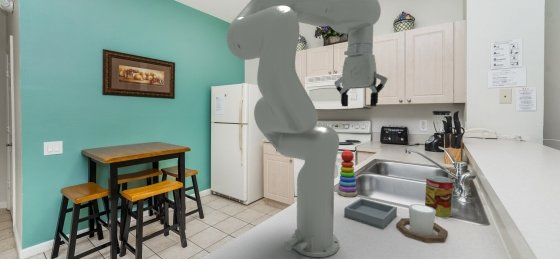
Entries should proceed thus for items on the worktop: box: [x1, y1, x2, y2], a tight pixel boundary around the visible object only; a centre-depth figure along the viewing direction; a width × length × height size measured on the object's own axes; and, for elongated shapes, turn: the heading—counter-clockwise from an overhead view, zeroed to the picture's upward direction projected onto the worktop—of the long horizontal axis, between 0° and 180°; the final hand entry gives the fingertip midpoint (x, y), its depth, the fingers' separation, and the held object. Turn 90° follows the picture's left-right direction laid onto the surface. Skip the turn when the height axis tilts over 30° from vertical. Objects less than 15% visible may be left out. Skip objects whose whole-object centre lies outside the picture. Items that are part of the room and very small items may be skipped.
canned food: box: [424, 175, 455, 218], centre depth 85 cm, size 8×8×12 cm
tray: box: [343, 197, 398, 230], centre depth 82 cm, size 13×13×3 cm
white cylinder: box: [408, 203, 436, 235], centre depth 72 cm, size 7×7×7 cm
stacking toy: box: [337, 149, 358, 198], centre depth 103 cm, size 8×8×19 cm
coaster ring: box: [395, 217, 449, 244], centre depth 72 cm, size 12×12×1 cm
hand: (358, 106), depth 80 cm, fingers open, 9 cm apart
